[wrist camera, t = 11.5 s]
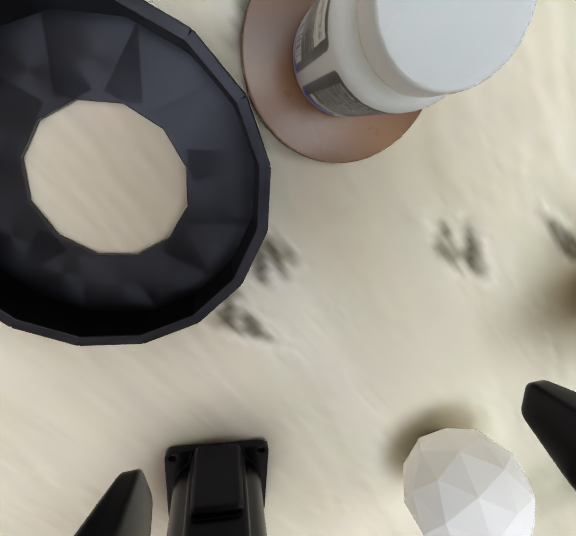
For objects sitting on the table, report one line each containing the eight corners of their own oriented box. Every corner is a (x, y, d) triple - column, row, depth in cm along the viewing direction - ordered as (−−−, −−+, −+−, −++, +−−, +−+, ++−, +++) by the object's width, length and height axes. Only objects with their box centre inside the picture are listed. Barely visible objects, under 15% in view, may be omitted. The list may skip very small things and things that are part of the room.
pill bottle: (408, 85, 17) (571, 53, 9) (319, 136, 17) (402, 147, 9) (372, -32, 15) (539, -202, 7) (271, 27, 15) (325, -77, 7)
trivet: (413, 166, 19) (418, 167, 18) (238, 156, 17) (239, 157, 16) (456, -51, 15) (463, -57, 15) (243, -91, 14) (244, -98, 13)
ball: (413, 398, 29) (493, 408, 21) (485, 465, 29) (589, 498, 21) (361, 485, 26) (433, 532, 18) (441, 559, 26) (545, 635, 18)
